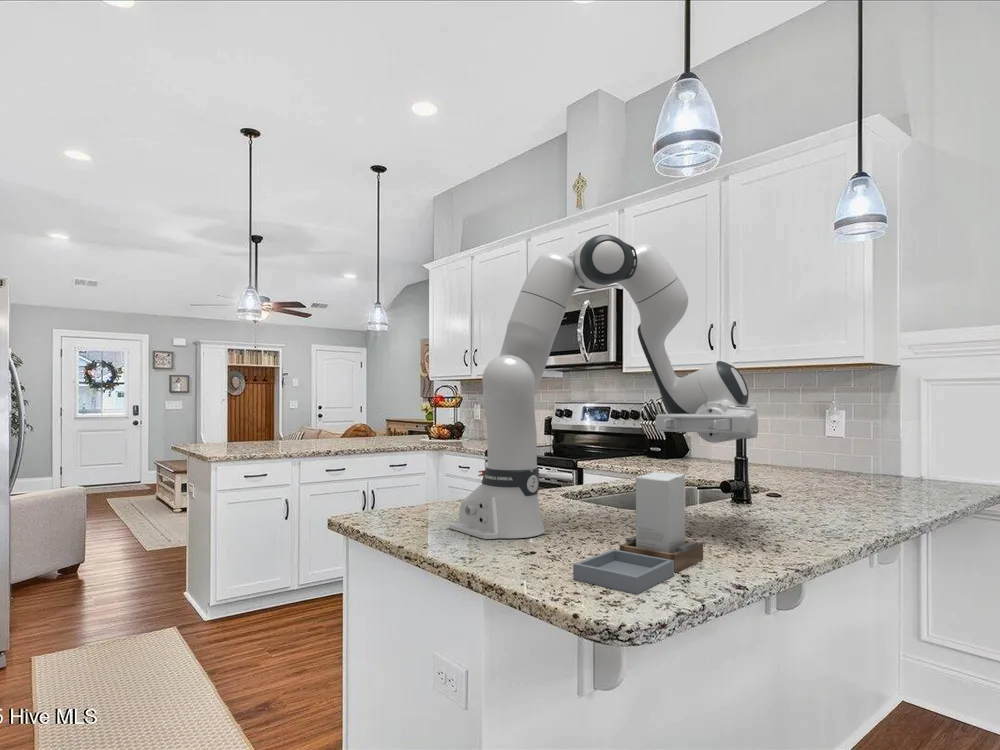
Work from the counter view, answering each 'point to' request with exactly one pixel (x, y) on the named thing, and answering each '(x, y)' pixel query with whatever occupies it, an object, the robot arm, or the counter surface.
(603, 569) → the slate tray
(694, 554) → the walnut caddy
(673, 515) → the skincare box
